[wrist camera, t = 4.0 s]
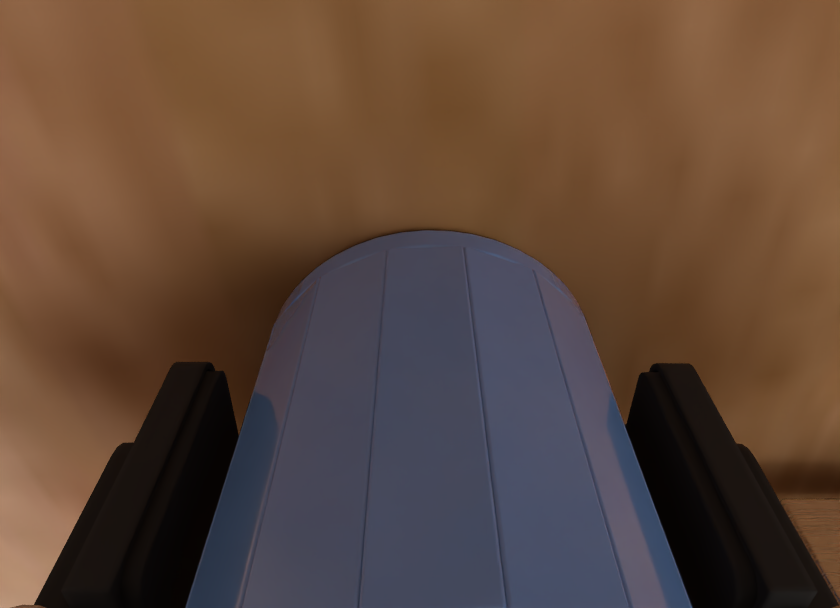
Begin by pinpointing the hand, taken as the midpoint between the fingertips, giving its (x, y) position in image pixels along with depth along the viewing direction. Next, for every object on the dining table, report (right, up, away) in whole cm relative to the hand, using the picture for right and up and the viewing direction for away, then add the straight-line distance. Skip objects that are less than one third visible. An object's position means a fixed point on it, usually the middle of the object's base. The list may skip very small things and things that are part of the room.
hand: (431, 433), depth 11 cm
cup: (0, +1, +1) cm, 2 cm away
